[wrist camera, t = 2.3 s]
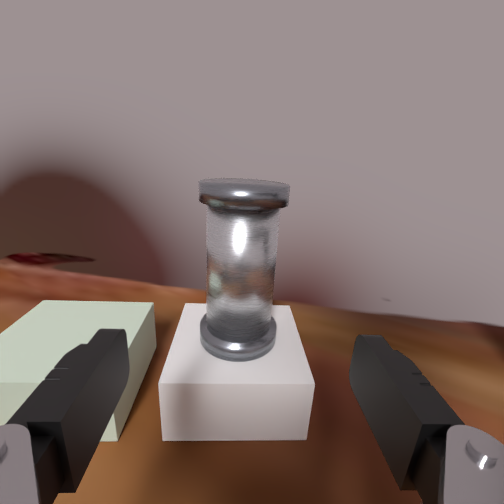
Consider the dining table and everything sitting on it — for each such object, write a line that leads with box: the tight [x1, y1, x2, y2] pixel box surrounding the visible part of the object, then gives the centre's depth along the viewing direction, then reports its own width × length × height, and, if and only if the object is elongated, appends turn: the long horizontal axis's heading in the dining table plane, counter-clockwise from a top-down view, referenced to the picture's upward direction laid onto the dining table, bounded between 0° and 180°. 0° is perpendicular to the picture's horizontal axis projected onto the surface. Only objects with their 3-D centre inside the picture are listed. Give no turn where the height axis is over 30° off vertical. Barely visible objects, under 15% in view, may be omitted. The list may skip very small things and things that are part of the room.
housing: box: [199, 178, 290, 362], centre depth 21 cm, size 6×6×12 cm
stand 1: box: [0, 300, 157, 441], centre depth 23 cm, size 10×10×5 cm
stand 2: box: [158, 303, 315, 441], centre depth 24 cm, size 10×10×5 cm
